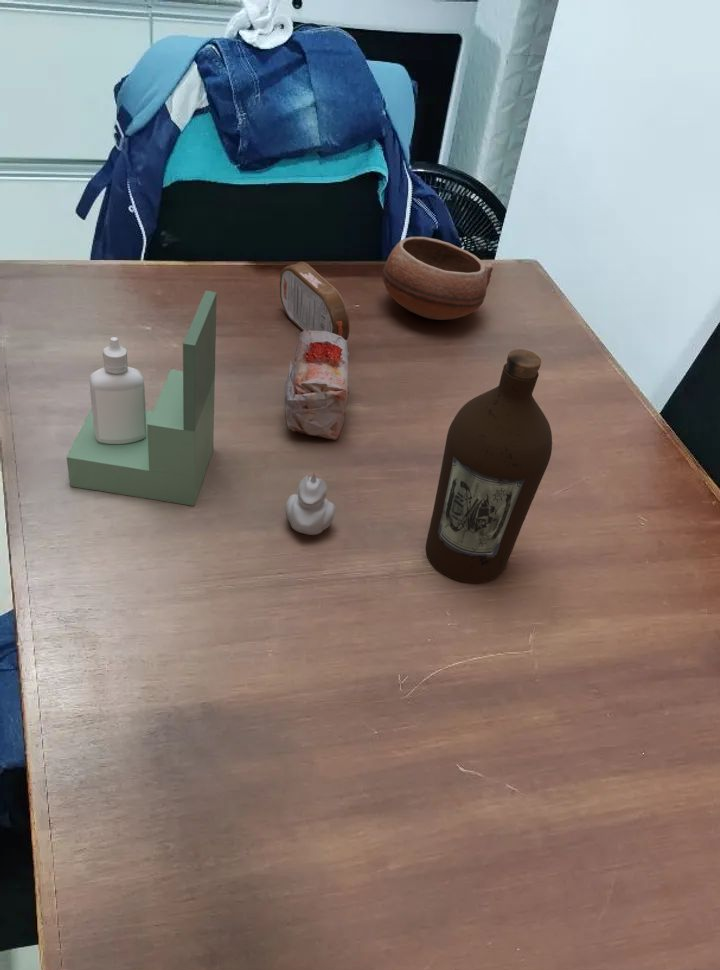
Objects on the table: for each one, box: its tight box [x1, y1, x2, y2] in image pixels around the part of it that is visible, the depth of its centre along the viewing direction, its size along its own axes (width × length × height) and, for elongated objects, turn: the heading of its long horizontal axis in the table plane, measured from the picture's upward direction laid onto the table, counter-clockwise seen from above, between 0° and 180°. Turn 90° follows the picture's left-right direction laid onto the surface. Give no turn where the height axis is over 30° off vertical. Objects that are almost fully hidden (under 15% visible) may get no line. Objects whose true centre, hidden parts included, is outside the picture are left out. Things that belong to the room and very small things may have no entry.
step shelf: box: [66, 290, 218, 507], centre depth 99 cm, size 14×11×20 cm
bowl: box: [382, 236, 494, 321], centre depth 137 cm, size 16×16×10 cm
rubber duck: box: [285, 472, 336, 536], centre depth 100 cm, size 5×7×8 cm
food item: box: [284, 330, 350, 441], centre depth 115 cm, size 14×8×10 cm, turn 1°
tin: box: [279, 261, 351, 341], centre depth 129 cm, size 15×3×8 cm, turn 34°
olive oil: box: [425, 348, 553, 584], centre depth 94 cm, size 11×11×25 cm
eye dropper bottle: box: [89, 336, 147, 444], centre depth 99 cm, size 4×6×12 cm
